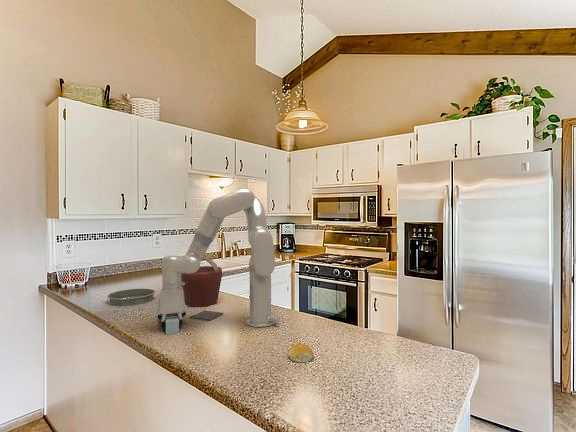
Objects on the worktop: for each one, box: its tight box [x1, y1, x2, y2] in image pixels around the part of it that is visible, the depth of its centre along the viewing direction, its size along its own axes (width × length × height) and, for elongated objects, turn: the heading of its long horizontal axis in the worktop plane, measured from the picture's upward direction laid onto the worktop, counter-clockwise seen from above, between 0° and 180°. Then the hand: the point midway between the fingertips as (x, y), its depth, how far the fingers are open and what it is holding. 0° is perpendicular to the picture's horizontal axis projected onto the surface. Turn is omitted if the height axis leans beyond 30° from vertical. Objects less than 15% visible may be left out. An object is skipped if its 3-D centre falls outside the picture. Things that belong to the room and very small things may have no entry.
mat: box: [189, 309, 224, 322], centre depth 156 cm, size 11×11×1 cm
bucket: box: [181, 257, 223, 308], centre depth 180 cm, size 24×22×25 cm
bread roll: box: [287, 343, 315, 363], centre depth 110 cm, size 8×9×4 cm
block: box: [165, 316, 180, 336], centre depth 136 cm, size 7×5×5 cm
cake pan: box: [106, 288, 156, 307], centre depth 185 cm, size 25×25×4 cm
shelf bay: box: [159, 313, 179, 328], centre depth 149 cm, size 15×9×4 cm, turn 22°
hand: (171, 328), depth 137 cm, fingers closed on block, 5 cm apart
